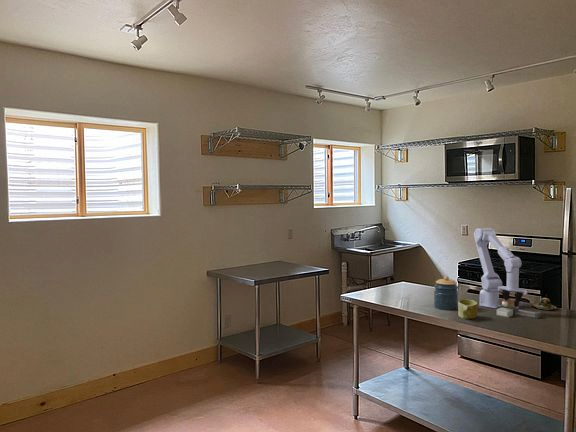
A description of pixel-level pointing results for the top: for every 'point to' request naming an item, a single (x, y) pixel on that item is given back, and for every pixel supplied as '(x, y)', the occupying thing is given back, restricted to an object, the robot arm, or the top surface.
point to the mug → (467, 309)
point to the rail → (527, 313)
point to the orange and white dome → (504, 303)
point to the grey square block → (504, 312)
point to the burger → (544, 304)
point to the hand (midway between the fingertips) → (512, 305)
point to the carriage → (512, 305)
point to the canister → (446, 294)
